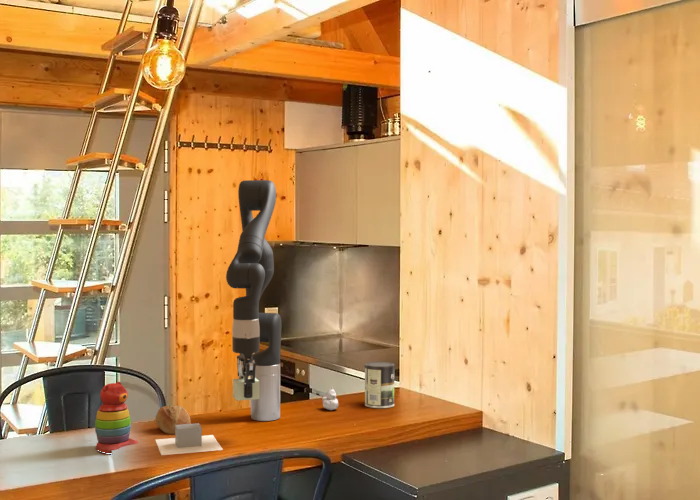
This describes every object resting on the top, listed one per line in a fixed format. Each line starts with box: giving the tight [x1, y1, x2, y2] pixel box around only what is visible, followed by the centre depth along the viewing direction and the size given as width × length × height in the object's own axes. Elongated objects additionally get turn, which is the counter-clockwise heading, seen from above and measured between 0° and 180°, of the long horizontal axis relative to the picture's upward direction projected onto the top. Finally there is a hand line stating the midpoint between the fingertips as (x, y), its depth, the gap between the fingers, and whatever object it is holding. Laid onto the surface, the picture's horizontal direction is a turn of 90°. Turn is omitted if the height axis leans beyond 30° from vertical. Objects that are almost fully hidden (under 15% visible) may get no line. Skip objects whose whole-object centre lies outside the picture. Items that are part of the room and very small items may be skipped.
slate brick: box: [174, 422, 203, 448], centre depth 217 cm, size 6×5×5 cm
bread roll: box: [154, 404, 192, 435], centre depth 234 cm, size 10×15×8 cm, turn 28°
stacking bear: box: [94, 381, 139, 454], centre depth 217 cm, size 11×10×18 cm
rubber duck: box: [322, 386, 339, 411], centre depth 265 cm, size 5×7×8 cm
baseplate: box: [154, 434, 224, 456], centre depth 217 cm, size 16×16×1 cm
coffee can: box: [364, 361, 396, 409], centre depth 271 cm, size 10×10×14 cm
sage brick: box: [232, 377, 259, 401], centre depth 223 cm, size 6×5×5 cm
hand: (246, 395), depth 223 cm, fingers closed on sage brick, 5 cm apart
